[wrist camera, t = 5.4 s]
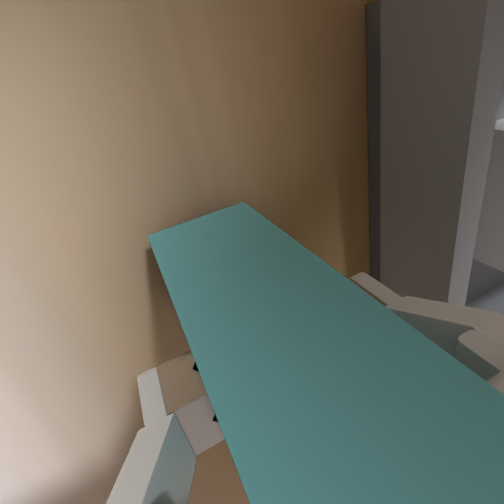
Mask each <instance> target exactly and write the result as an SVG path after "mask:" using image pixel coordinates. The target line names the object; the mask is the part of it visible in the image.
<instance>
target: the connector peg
mask: <svg viewBox="0 0 504 504" xmlns="http://www.w3.org/2000/svg"><path fill="white" fill-rule="evenodd" d="M147 237H148V240H149V242H150V245H151V248H152V250H153V253H154V255H155V258H156V261H157V263H158V266H159V268H160V271H161V274H162V276H163V279H164V281H165V284H166V287H167V289H168V292H169V294H170V297H171V300H172V302H173V305H174V307H175V310H176V313H177V315H178V318H179V320H180V323H181V326H182V328H183V331H184V333H185V336H186V339H187V341H188V344H189V346H190V349H191V352H192V354H193V357H194V359H195V362H196V365H197V367H198V370H199V372H200V375H201V378H202V380H203V383H204V385H205V388H206V391H207V393H208V396H209V399H210V401H211V404H212V406H213V409H214V412H215V414H216V417H217V419H218V422H219V425H220V427H221V430H222V432H223V435H224V438H225V440H226V443H227V445H228V448H229V451H230V453H231V456H232V458H233V461H234V464H235V466H236V469H237V471H238V474H239V477H240V479H241V482H242V484H243V487H244V490H245V492H246V495H247V497H248V500H249V503H250V504H504V394H503V393H501V392H500V391H499V390H497V389H496V388H495V387H493V386H492V385H490V384H489V383H488V382H486V381H485V380H484V379H482V378H481V377H480V376H478V375H477V374H476V373H474V372H473V371H472V370H470V369H469V368H468V367H466V366H465V365H464V364H462V363H461V362H459V361H458V360H457V359H455V358H454V357H453V356H451V355H450V354H449V353H447V352H446V351H445V350H443V349H442V348H441V347H439V346H438V345H437V344H435V343H434V342H433V341H431V340H430V339H428V338H427V337H426V336H424V335H423V334H422V333H420V332H419V331H418V330H416V329H415V328H414V327H412V326H411V325H410V324H408V323H407V322H406V321H404V320H403V319H402V318H400V317H399V316H397V315H396V314H395V313H393V312H392V311H391V310H389V309H388V308H387V307H385V306H384V305H383V304H381V303H380V302H379V301H377V300H376V299H375V298H373V297H372V296H371V295H369V294H368V293H366V292H365V291H364V290H362V289H361V288H360V287H358V286H357V285H356V284H354V283H353V282H352V281H350V280H349V279H348V278H346V277H345V276H344V275H342V274H341V273H340V272H338V271H337V270H335V269H334V268H333V267H331V266H330V265H329V264H327V263H326V262H325V261H323V260H322V259H321V258H319V257H318V256H317V255H315V254H314V253H313V252H311V251H310V250H309V249H307V248H306V247H304V246H303V245H302V244H300V243H299V242H298V241H296V240H295V239H294V238H292V237H291V236H290V235H288V234H287V233H286V232H284V231H283V230H282V229H280V228H279V227H278V226H276V225H275V224H273V223H272V222H271V221H269V220H268V219H267V218H265V217H264V216H263V215H261V214H260V213H259V212H257V211H256V210H255V209H253V208H252V207H251V206H249V205H248V204H247V203H245V202H241V203H238V204H235V205H232V206H230V207H227V208H224V209H221V210H218V211H215V212H213V213H210V214H207V215H204V216H201V217H198V218H195V219H193V220H190V221H187V222H184V223H181V224H178V225H176V226H173V227H170V228H167V229H164V230H161V231H158V232H156V233H153V234H150V235H147Z"/></svg>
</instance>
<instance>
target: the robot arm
mask: <svg viewBox="0 0 504 504" xmlns="http://www.w3.org/2000/svg"><path fill="white" fill-rule="evenodd" d="M348 279H349V280H350V281H352V282H353V283H354V284H356V285H357V286H358V287H360V288H361V289H362V290H364V291H365V292H366V293H368V294H369V295H371V296H372V297H373V298H375V299H376V300H377V301H379V302H380V303H381V304H383V305H384V306H385V307H387V308H388V309H389V310H391V311H392V312H393V313H395V314H396V315H397V316H399V317H400V318H402V319H403V320H404V321H406V322H407V323H408V324H410V325H411V326H412V327H414V328H415V329H416V330H418V331H419V332H420V333H422V334H423V335H424V336H426V337H427V338H428V339H430V340H431V341H433V342H434V343H435V344H437V345H438V346H439V347H441V348H442V349H443V350H445V351H446V352H447V353H449V354H450V355H451V356H453V357H454V358H455V359H457V360H458V361H459V362H461V363H462V364H464V365H465V366H466V367H468V368H469V369H470V370H472V371H473V372H474V373H476V374H477V375H478V376H480V377H481V378H482V379H484V380H485V381H486V382H488V383H489V384H490V385H492V386H493V387H495V388H496V389H497V390H499V391H500V392H501V393H503V394H504V315H503V314H501V313H499V312H495V311H489V310H484V309H478V308H473V307H467V306H462V305H456V304H450V303H445V302H439V301H434V300H428V299H423V298H417V297H412V296H405V297H401V296H400V295H398V294H397V293H395V292H394V291H392V290H391V289H389V288H388V287H386V286H385V285H383V284H382V283H380V282H379V281H377V280H376V279H374V278H373V277H371V276H370V275H368V274H367V273H364V272H360V273H358V274H356V275H354V276H352V277H350V278H348ZM137 383H138V389H139V396H140V402H141V408H142V415H143V421H144V428H142V429H140V430H138V433H137V435H136V437H135V439H134V442H133V444H132V446H131V448H130V451H129V453H128V455H127V457H126V459H125V462H124V464H123V466H122V468H121V471H120V473H119V475H118V477H117V480H116V482H115V484H114V486H113V489H112V491H111V493H110V495H109V498H108V500H107V502H106V504H188V500H189V495H190V490H191V485H192V480H193V475H194V470H195V466H196V461H197V457H196V456H197V455H199V454H200V453H202V452H204V451H206V450H207V449H209V448H211V447H213V446H214V445H216V444H218V443H219V442H221V441H223V440H225V438H224V435H223V432H222V430H221V427H220V425H219V422H218V419H217V417H216V414H215V412H214V409H213V406H212V404H211V401H210V399H209V396H208V393H207V391H206V388H205V385H204V383H203V380H202V378H201V375H200V372H199V370H198V367H197V365H196V362H195V359H194V357H193V354H192V352H191V351H189V352H187V353H185V354H182V355H180V356H178V357H175V358H173V359H171V360H169V361H166V362H164V363H162V364H159V365H157V366H156V367H153V368H151V369H149V370H146V371H144V372H142V373H139V374H138V376H137Z"/></svg>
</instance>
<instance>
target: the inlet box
mask: <svg viewBox="0 0 504 504" xmlns="http://www.w3.org/2000/svg"><path fill="white" fill-rule="evenodd" d="M366 33H367V93H368V154H369V214H370V274H371V277H373V278H374V279H376V280H377V281H379V282H380V283H382V284H383V285H385V286H386V287H388V288H389V289H391V290H392V291H394V292H395V293H397V294H398V295H400V296H401V297H405V296H412V297H417V298H423V299H428V300H434V301H439V302H445V303H450V304H456V305H462V306H467V307H473V308H478V309H484V310H489V311H495V312H499V313H501V314H503V315H504V0H380V1H376V2H373V3H370V4H367V5H366Z"/></svg>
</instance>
